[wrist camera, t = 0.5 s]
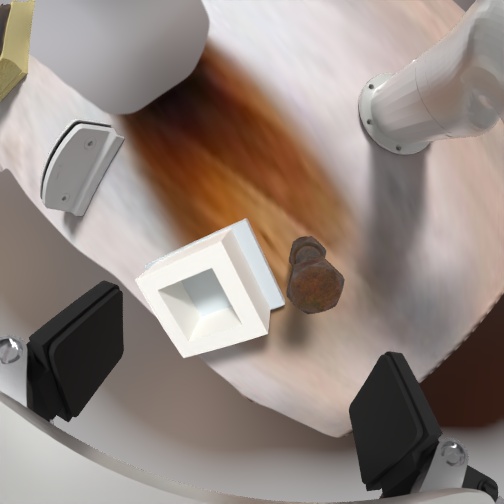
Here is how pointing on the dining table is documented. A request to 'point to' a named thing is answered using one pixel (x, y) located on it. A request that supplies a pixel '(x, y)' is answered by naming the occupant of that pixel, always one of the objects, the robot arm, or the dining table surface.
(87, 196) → the grey arched bracket
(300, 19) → the dining table surface
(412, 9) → the dining table surface
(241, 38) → the dining table surface
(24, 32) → the yellow and brown statue
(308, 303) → the bolt
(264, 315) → the socket post
